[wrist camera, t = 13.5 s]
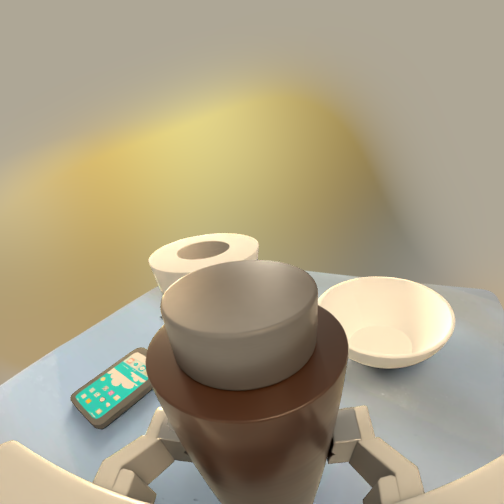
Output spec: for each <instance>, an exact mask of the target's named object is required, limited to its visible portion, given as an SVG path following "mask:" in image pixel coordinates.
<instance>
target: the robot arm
mask: <svg viewBox="0 0 504 504" xmlns="http://www.w3.org/2000/svg"><path fill="white" fill-rule="evenodd" d="M174 460H178V461H186V462H192V460H191V458H190V457H189V455H188V454H187V452H186V450H185V449H184V447H183V445H182V443H181V442H180V440H179V438H178V436H177V435H176V433H175V431H174V429H173V427H172V426H171V424H170V422H169V420H168V418H167V416H166V414H165V412H164V410H163V408H162V407H158V408H157V409H156V411H155V413H154V416H153V418H152V420H151V423H150V425H149V427H148V430H147V432H146V434H145V436H140V437H139V438H137V439H136V440H134V441H133V442H131V443H130V444H128V445H127V446H125V447H124V448H122V449H121V450H119V451H118V452H116V453H114V454H113V455H111V456H110V457H108V458H106V459H105V460H103V462H102V464H101V466H100V468H99V470H98V472H97V474H96V476H95V479H94V481H93V483H91V482H89V481H86V480H84V479H82V478H80V477H78V476H76V475H74V474H72V473H70V472H68V471H66V470H64V469H62V468H60V467H58V466H56V465H54V464H53V463H51V462H49V461H47V460H46V459H44V458H42V457H41V456H39V455H37V454H36V453H34V452H32V451H31V450H29V449H28V448H26V447H25V446H23V445H22V444H20V443H19V442H17V441H13V440H12V441H8V442H6V443H3V444H1V445H0V504H154V502H155V499H156V493H155V492H154V491H153V490H152V489H151V488H150V487H149V486H148V484H150V483H151V482H152V481H153V480H154V479H155V478H156V477H158V476H159V475H160V474H161V473H162V472H163V471H164V470H165V469H166V468H168V467H169V466H170V465H171V464H172V463H173V462H174ZM327 460H328V464H334V463H343V462H349V463H350V464H351V466H352V467H353V468H354V469H355V470H356V471H357V472H358V473H359V474H360V475H361V476H362V477H363V478H364V479H365V480H366V482H367V483H368V484H369V485H370V486H371V487H372V489H371V491H370V492H369V493H368V494H367V495H366V497H365V498H364V499H363V504H504V454H503V455H502V456H500V457H498V458H497V459H495V460H493V461H492V462H490V463H488V464H487V465H485V466H483V467H481V468H479V469H478V470H476V471H474V472H472V473H470V474H468V475H466V476H464V477H462V478H460V479H458V480H455V481H453V482H451V483H449V484H446V485H444V486H442V487H439V488H437V489H434V490H432V491H429V492H427V493H425V492H424V488H423V485H422V481H421V477H420V474H419V470H418V467H417V466H416V465H414V464H413V463H412V462H410V461H409V460H408V459H406V458H405V457H404V456H402V455H401V454H400V453H398V452H397V451H396V450H395V449H393V448H392V447H391V446H389V445H388V444H387V443H386V442H384V441H383V440H382V439H381V438H379V437H376V438H375V434H374V431H373V427H372V423H371V419H370V416H369V412H368V408H367V407H366V406H365V405H364V406H359V407H350V408H344V409H339V411H338V415H337V420H336V424H335V429H334V433H333V437H332V441H331V445H330V449H329V453H328V456H327Z"/></svg>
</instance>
